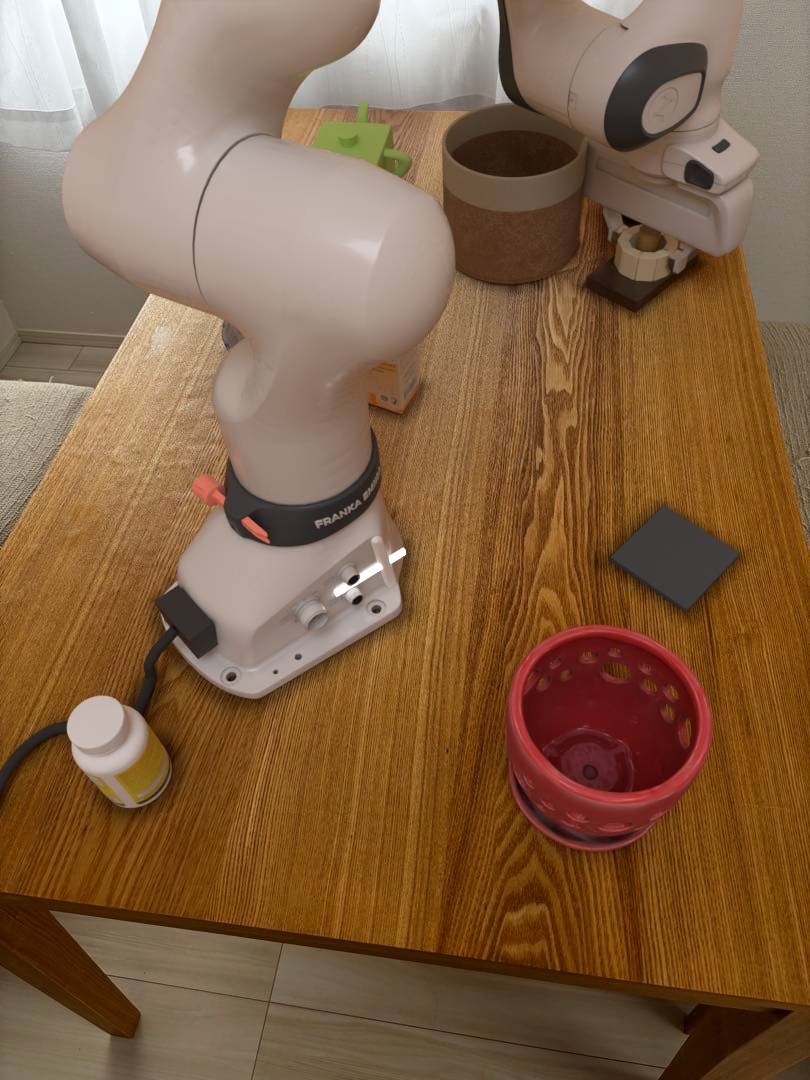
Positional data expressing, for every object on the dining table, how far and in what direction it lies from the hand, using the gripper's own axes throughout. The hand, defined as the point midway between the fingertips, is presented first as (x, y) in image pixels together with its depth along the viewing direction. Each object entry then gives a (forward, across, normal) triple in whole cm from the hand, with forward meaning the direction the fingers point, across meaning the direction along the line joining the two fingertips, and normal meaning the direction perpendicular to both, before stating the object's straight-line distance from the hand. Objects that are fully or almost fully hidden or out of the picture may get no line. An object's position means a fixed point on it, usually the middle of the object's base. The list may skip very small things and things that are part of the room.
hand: (645, 255), depth 98 cm
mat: (+3, +26, -31) cm, 41 cm away
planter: (+3, -15, -6) cm, 16 cm away
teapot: (+3, -35, -13) cm, 37 cm away
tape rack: (+3, 0, 0) cm, 3 cm away
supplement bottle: (+3, +8, -76) cm, 76 cm away
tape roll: (+1, 0, 0) cm, 1 cm away
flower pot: (+3, +33, -52) cm, 62 cm away
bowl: (+3, -20, -37) cm, 42 cm away
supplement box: (+3, -9, -34) cm, 35 cm away
